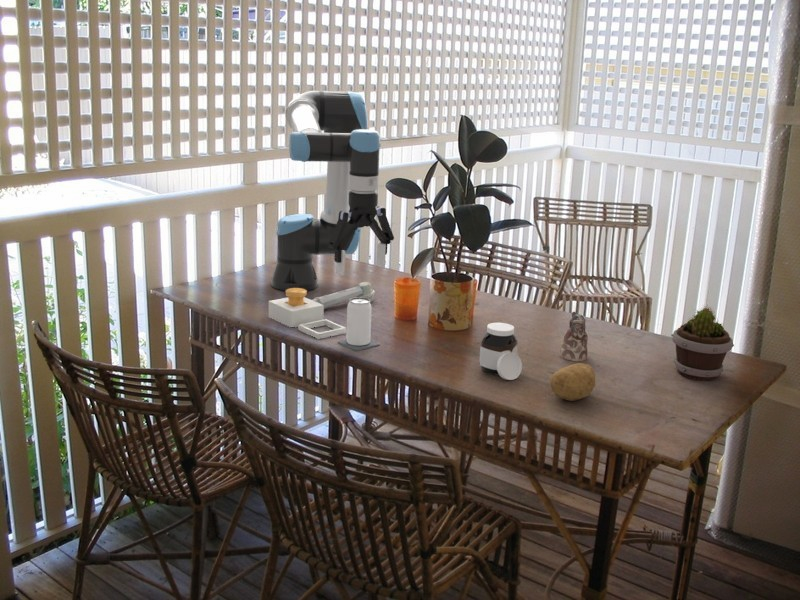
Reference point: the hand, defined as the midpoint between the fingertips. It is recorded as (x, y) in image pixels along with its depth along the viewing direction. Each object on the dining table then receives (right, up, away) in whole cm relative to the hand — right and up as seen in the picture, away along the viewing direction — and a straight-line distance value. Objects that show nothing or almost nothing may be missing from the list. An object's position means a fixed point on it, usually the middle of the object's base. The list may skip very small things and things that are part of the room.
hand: (360, 270), depth 233 cm
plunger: (-20, -13, +24) cm, 33 cm away
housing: (-16, -15, +19) cm, 29 cm away
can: (-1, -20, +6) cm, 20 cm away
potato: (+51, -31, -24) cm, 65 cm away
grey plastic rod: (-8, -10, +39) cm, 41 cm away
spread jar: (+36, -26, -10) cm, 46 cm away
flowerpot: (+88, -27, -5) cm, 92 cm away
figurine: (+57, -23, +4) cm, 62 cm away
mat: (-1, -20, +6) cm, 21 cm away
